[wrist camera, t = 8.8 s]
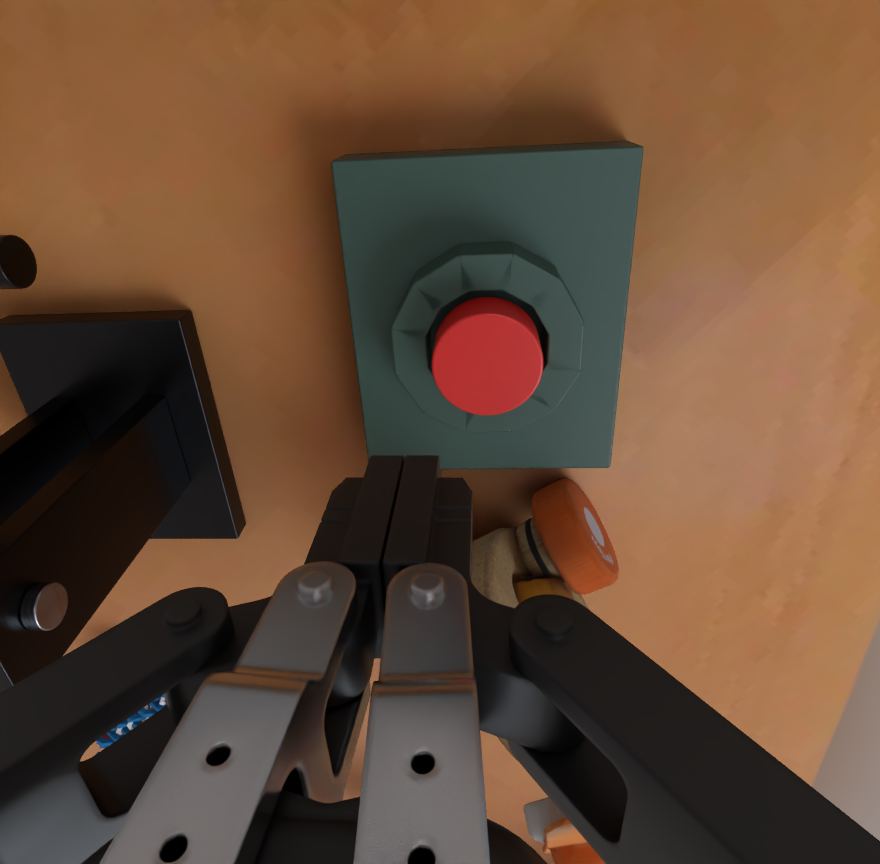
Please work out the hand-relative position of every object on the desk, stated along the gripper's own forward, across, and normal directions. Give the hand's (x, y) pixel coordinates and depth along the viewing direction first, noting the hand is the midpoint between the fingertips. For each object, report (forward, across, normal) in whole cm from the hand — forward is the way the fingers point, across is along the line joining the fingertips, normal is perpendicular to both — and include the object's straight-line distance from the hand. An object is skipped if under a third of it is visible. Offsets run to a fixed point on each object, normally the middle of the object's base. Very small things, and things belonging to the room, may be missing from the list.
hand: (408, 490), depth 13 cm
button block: (+12, -2, 0) cm, 13 cm away
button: (+9, -2, 0) cm, 9 cm away
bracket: (+12, +14, +5) cm, 20 cm away
